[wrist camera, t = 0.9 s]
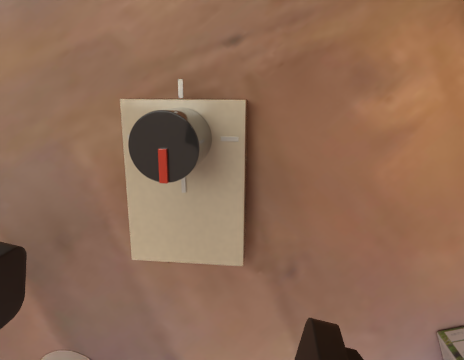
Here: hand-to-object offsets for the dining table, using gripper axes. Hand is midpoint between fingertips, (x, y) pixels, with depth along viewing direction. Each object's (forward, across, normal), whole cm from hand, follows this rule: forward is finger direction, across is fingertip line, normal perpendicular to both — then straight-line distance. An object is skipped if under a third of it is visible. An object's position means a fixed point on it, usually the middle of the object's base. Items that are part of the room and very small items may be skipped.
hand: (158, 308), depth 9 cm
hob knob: (+18, +4, -2) cm, 19 cm away
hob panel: (+20, +4, +2) cm, 21 cm away
